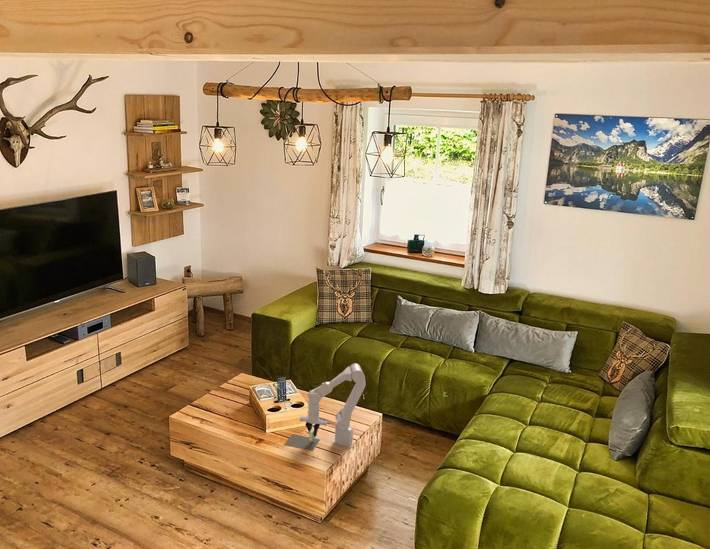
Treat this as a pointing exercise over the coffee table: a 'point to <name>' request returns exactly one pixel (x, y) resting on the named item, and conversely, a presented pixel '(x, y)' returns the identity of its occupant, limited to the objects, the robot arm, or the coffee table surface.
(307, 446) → the mat
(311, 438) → the tile
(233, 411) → the coffee table surface
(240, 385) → the coffee table surface
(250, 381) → the coffee table surface
